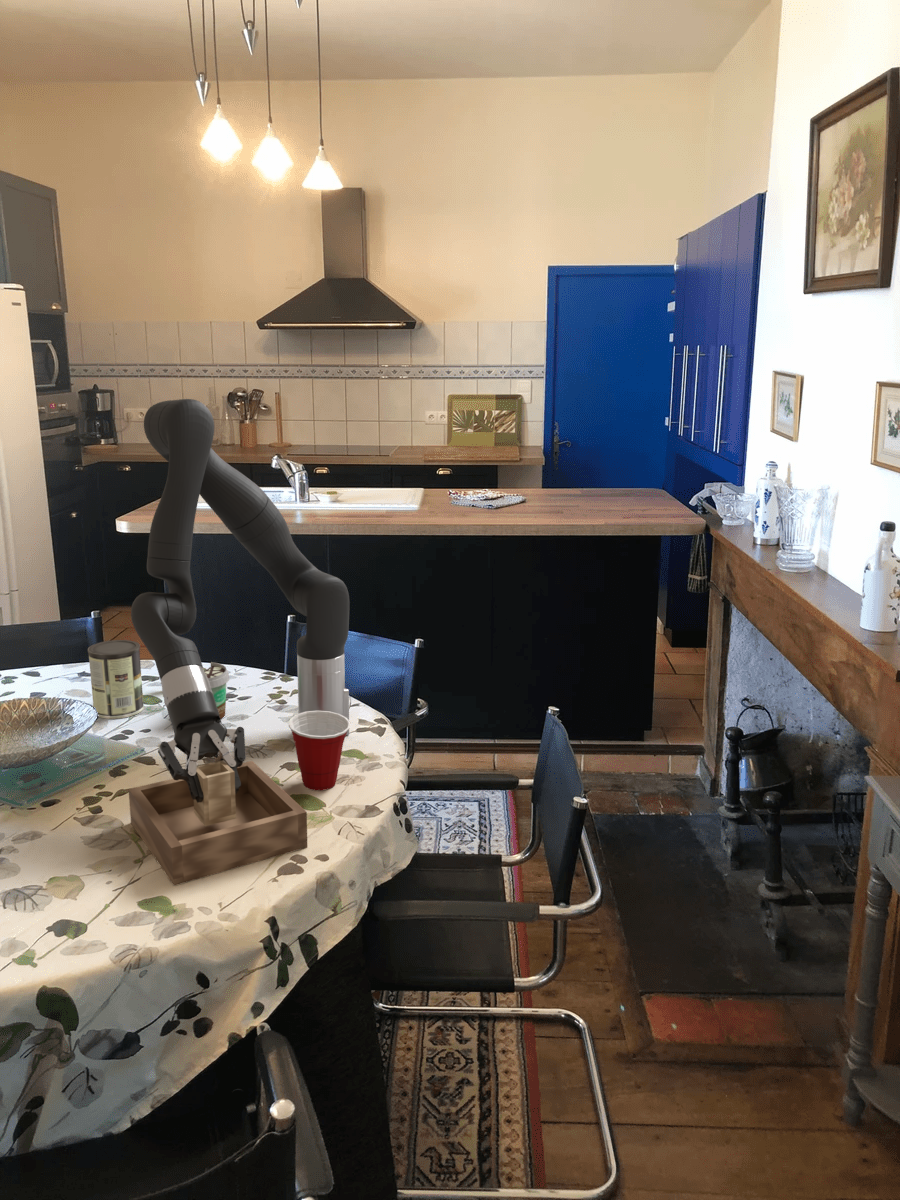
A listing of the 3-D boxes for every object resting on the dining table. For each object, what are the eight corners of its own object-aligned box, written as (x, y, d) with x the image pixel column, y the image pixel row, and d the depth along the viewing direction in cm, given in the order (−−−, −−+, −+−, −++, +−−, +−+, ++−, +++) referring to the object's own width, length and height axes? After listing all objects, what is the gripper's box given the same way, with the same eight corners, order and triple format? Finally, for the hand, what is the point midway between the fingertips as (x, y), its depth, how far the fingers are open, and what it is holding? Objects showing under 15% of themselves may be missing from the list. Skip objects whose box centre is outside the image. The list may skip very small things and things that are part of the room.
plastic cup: (325, 803, 163) (323, 738, 159) (277, 787, 168) (275, 724, 165) (363, 780, 171) (363, 718, 168) (316, 766, 177) (315, 705, 174)
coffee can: (122, 698, 209) (117, 636, 205) (154, 708, 204) (150, 645, 200) (82, 712, 200) (76, 648, 197) (114, 723, 195) (109, 657, 192)
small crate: (224, 805, 154) (222, 760, 152) (235, 818, 150) (234, 771, 148) (194, 813, 151) (192, 766, 149) (205, 826, 147) (203, 778, 145)
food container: (215, 729, 193) (213, 682, 190) (187, 726, 194) (185, 680, 191) (240, 707, 205) (238, 663, 202) (213, 705, 206) (211, 661, 203)
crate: (253, 792, 166) (252, 760, 164) (307, 847, 148) (306, 812, 147) (130, 822, 155) (128, 788, 153) (173, 885, 137) (171, 848, 136)
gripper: (149, 697, 148) (177, 798, 141) (237, 681, 156) (268, 777, 149) (141, 717, 154) (168, 816, 147) (226, 702, 161) (255, 795, 155)
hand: (218, 796), depth 148 cm, fingers closed on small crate, 5 cm apart
